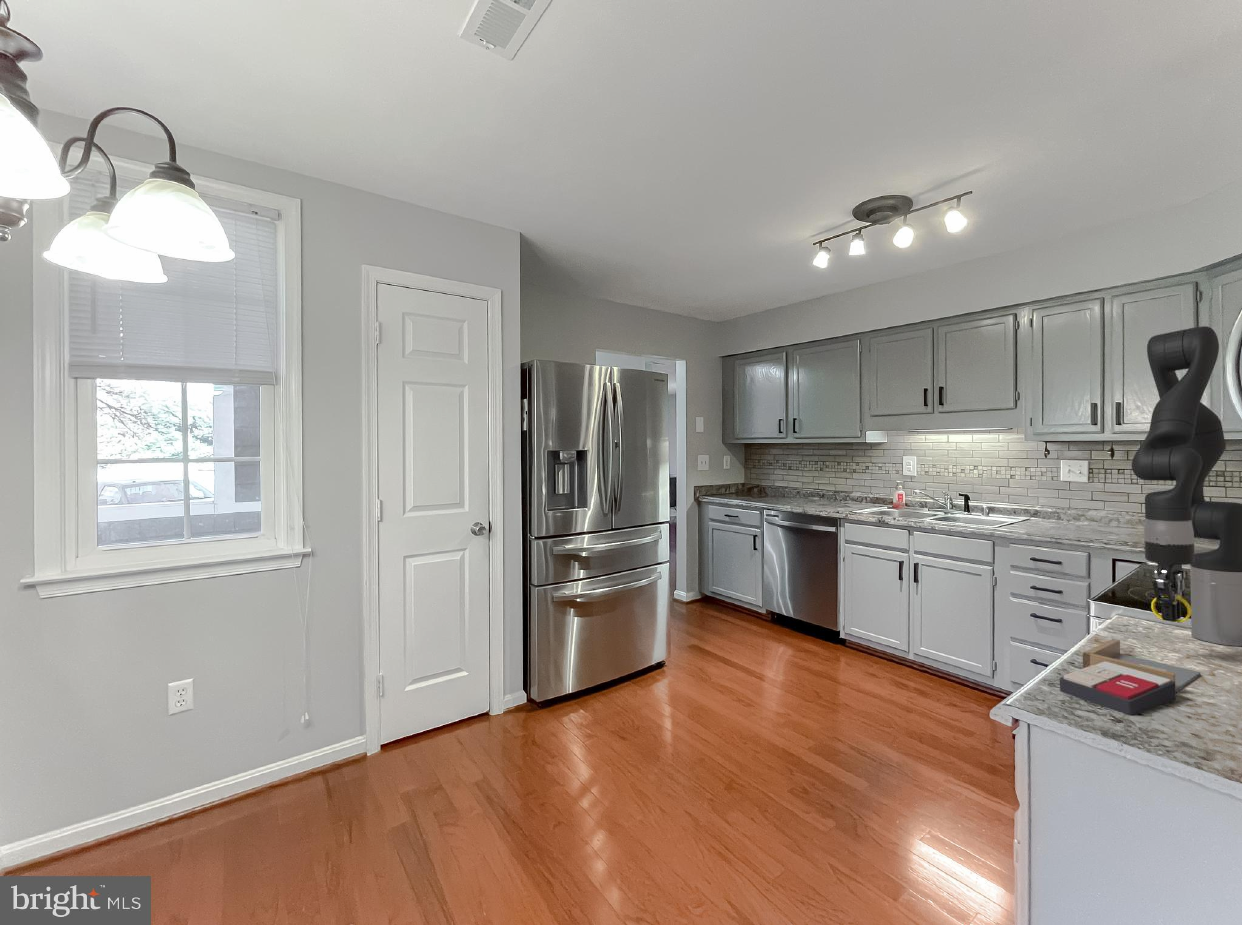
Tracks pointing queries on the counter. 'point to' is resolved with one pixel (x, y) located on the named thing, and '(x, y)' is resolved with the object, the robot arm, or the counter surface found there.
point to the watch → (1179, 600)
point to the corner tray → (1137, 663)
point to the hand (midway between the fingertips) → (1171, 619)
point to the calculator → (1119, 688)
